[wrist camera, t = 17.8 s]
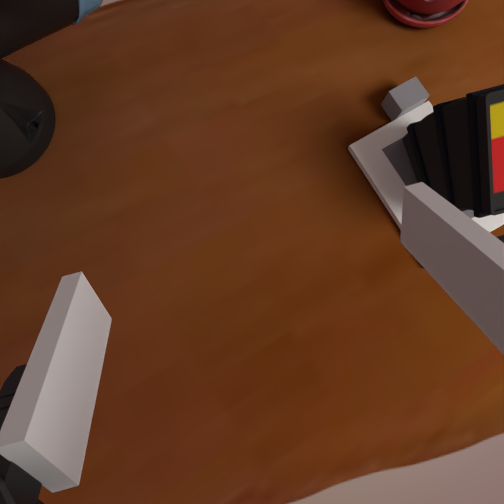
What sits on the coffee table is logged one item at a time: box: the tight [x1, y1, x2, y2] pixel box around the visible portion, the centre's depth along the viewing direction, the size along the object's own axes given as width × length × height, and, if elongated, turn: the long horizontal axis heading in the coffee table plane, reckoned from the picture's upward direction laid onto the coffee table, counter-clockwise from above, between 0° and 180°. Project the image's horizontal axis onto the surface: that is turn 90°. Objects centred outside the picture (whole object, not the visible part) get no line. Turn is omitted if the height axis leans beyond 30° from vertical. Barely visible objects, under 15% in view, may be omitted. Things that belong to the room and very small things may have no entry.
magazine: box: [403, 84, 504, 218], centre depth 39 cm, size 4×13×15 cm, turn 15°
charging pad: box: [348, 77, 504, 232], centre depth 44 cm, size 21×12×3 cm, turn 30°
